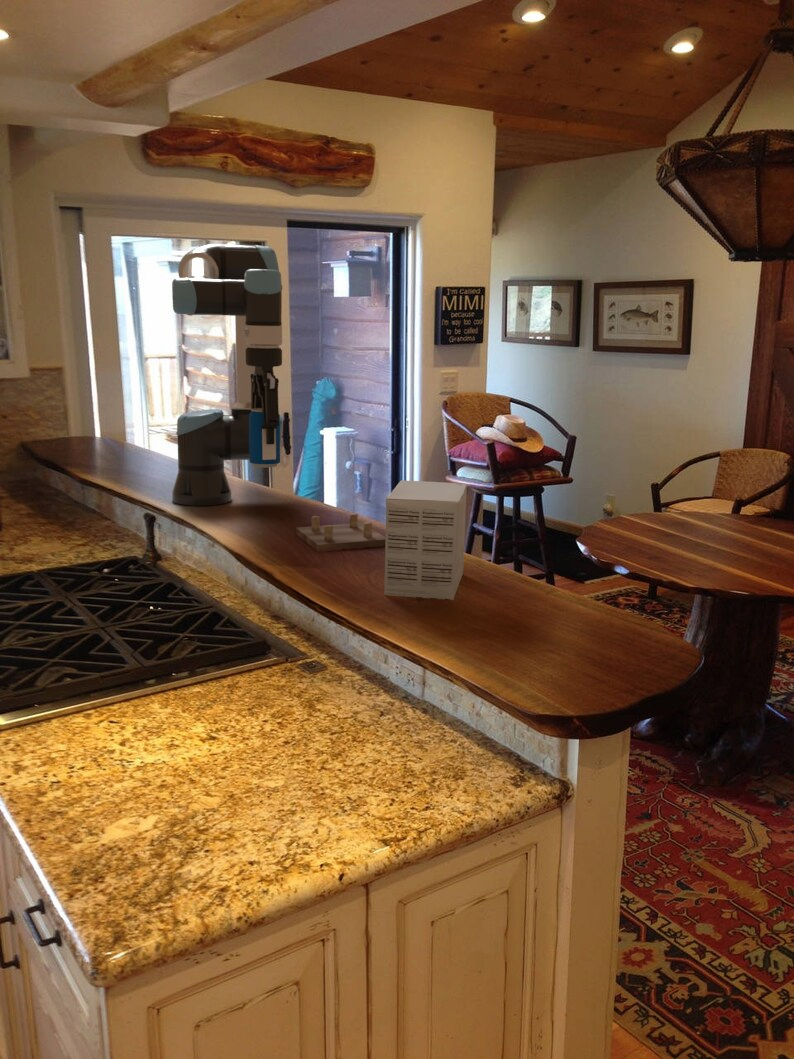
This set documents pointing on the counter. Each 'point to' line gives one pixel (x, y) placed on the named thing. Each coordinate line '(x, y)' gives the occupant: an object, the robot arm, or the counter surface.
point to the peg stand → (341, 535)
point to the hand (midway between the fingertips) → (264, 456)
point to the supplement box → (425, 539)
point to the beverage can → (260, 440)
